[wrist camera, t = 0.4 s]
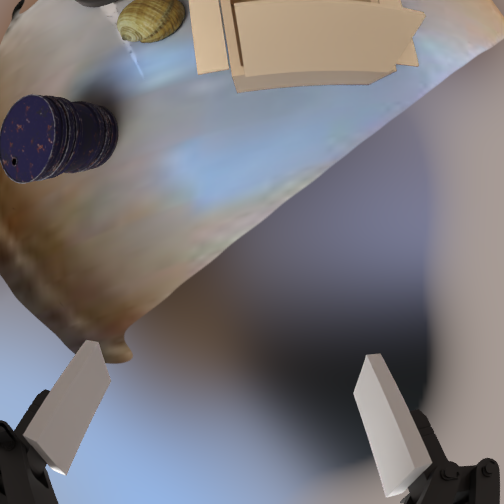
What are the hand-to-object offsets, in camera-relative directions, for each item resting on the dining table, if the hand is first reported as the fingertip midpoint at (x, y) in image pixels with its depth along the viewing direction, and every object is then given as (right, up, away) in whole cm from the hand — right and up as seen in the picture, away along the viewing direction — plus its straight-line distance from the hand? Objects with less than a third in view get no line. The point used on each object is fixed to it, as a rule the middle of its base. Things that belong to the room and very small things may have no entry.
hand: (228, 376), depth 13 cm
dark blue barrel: (-22, +23, +23) cm, 39 cm away
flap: (+8, +24, +7) cm, 26 cm away
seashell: (-10, +37, +18) cm, 42 cm away
